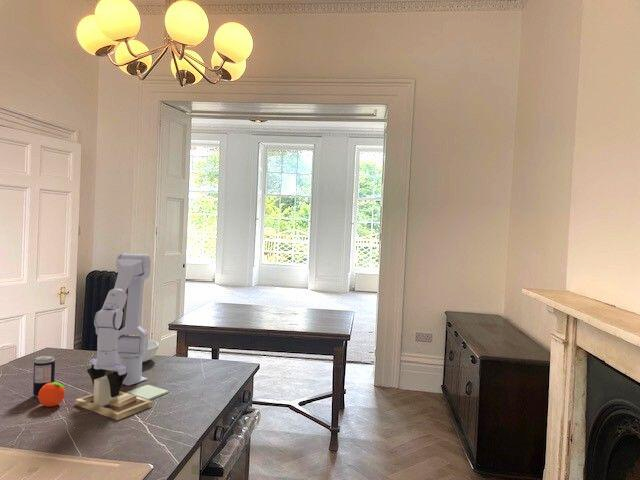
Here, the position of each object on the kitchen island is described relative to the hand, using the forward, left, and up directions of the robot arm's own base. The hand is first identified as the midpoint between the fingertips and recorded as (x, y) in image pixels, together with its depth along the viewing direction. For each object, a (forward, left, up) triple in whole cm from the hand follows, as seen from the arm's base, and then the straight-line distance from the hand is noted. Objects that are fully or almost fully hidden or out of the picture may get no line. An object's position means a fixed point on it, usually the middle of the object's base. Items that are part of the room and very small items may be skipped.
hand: (106, 393), depth 141 cm
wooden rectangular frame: (+3, 0, -3) cm, 5 cm away
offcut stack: (+8, 0, -3) cm, 9 cm away
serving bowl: (-29, +31, -3) cm, 42 cm away
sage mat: (+3, +13, -3) cm, 13 cm away
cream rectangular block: (0, 0, -3) cm, 3 cm away
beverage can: (-21, -7, -3) cm, 22 cm away
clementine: (-11, -10, -3) cm, 15 cm away
